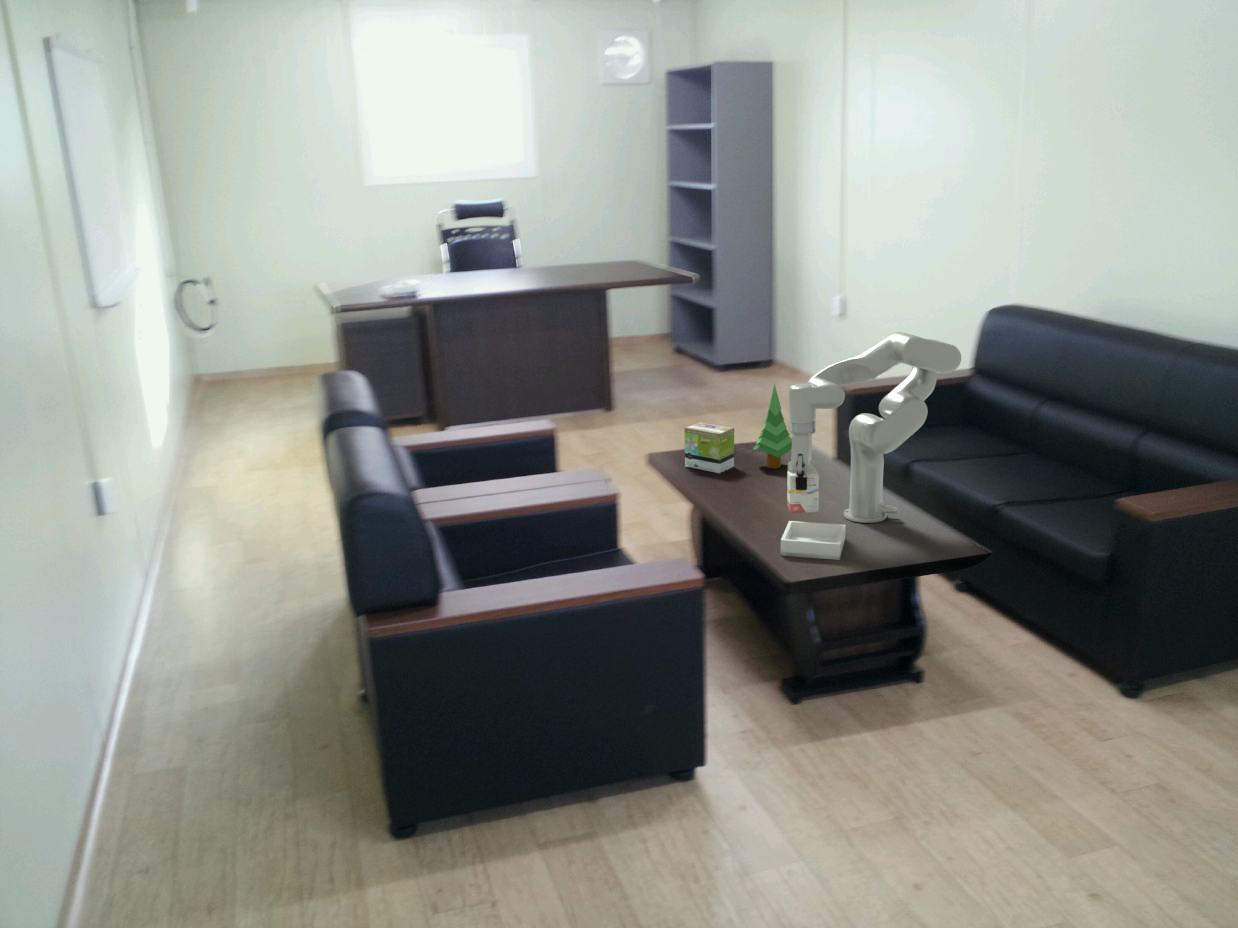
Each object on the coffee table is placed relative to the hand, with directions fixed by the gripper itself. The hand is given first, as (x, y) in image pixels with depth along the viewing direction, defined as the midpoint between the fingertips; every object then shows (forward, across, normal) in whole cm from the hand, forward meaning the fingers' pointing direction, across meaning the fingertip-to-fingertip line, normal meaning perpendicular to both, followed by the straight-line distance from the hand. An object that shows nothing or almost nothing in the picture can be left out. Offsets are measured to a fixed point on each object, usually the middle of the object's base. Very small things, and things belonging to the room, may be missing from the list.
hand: (802, 485), depth 304 cm
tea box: (+13, -53, -40) cm, 68 cm away
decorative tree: (+13, -58, -18) cm, 62 cm away
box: (+12, +18, +5) cm, 22 cm away
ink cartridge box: (+8, 0, 0) cm, 8 cm away
